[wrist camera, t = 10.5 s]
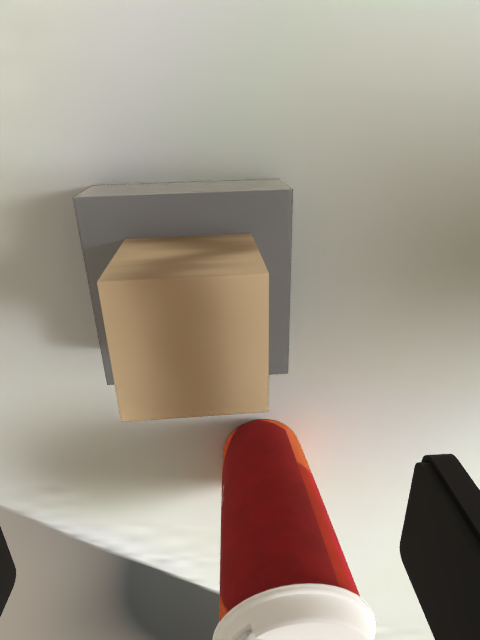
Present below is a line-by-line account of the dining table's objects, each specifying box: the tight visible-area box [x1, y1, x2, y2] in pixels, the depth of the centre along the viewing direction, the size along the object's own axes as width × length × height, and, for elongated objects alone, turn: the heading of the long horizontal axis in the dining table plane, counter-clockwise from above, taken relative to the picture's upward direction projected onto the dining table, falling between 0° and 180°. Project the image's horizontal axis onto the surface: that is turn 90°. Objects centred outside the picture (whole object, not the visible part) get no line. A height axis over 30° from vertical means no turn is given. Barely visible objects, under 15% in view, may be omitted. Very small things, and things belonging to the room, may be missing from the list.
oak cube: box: [97, 234, 269, 422], centre depth 19 cm, size 6×6×6 cm
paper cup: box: [212, 420, 376, 640], centre depth 25 cm, size 8×8×14 cm
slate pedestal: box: [73, 179, 293, 385], centre depth 24 cm, size 10×10×4 cm
